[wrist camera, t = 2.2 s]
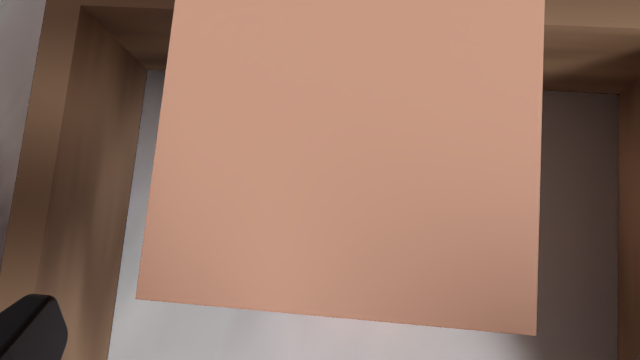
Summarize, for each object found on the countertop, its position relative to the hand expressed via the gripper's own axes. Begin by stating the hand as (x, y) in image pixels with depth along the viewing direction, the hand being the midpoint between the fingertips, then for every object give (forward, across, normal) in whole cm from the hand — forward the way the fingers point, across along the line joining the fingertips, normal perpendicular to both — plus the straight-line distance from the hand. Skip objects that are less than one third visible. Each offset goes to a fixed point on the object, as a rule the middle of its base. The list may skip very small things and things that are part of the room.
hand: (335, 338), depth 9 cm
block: (+9, 0, +5) cm, 11 cm away
